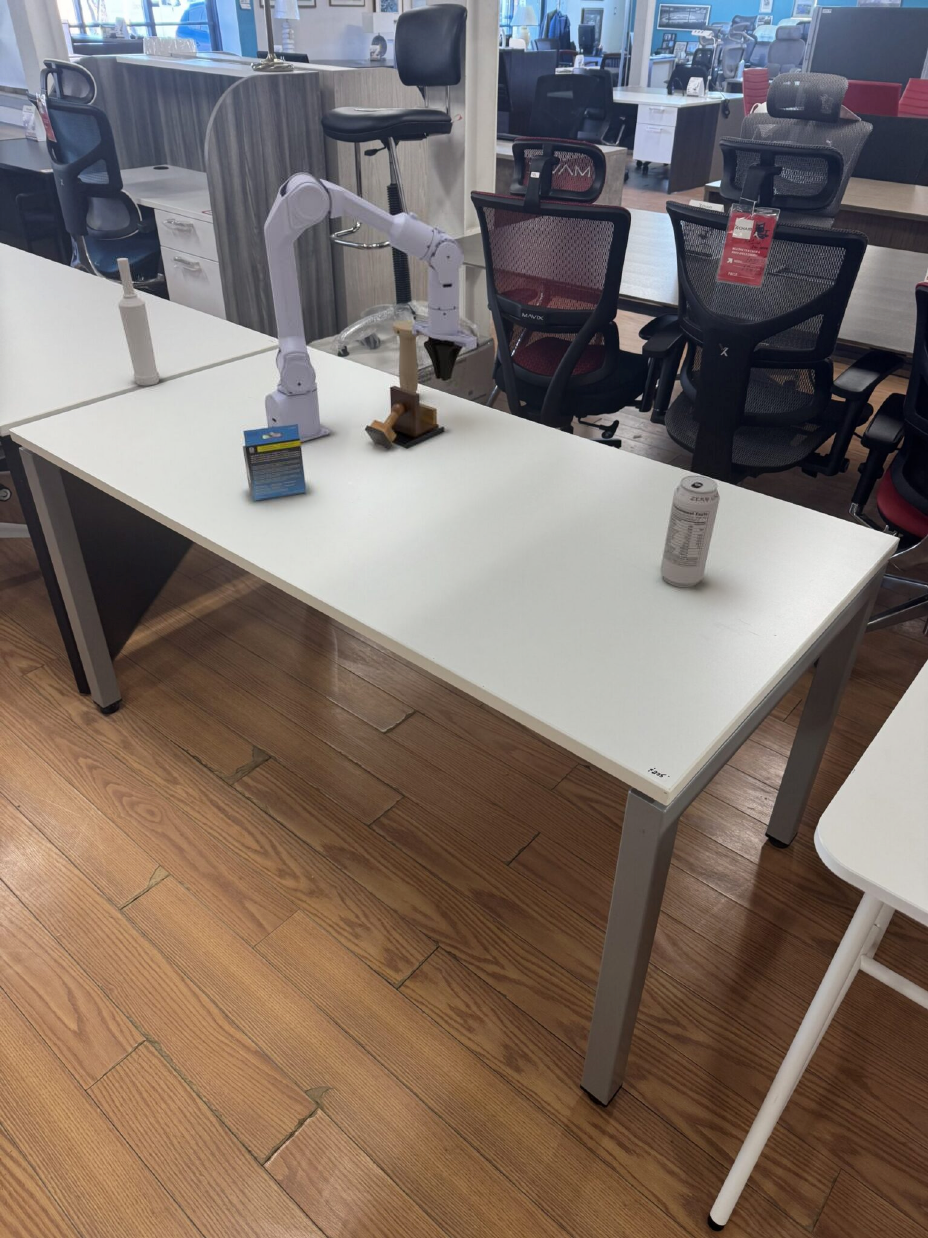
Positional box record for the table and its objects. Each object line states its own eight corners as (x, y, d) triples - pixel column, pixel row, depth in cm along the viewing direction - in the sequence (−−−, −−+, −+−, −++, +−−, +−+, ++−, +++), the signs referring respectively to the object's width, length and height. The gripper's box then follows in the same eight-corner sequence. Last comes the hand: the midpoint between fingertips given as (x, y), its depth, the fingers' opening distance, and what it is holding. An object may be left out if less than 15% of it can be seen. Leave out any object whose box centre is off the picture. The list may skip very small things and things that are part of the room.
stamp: (395, 434, 162) (394, 399, 158) (411, 440, 159) (410, 404, 155) (365, 447, 156) (363, 411, 152) (380, 453, 154) (379, 416, 150)
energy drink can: (709, 577, 122) (730, 482, 113) (688, 594, 118) (708, 498, 109) (673, 562, 125) (690, 469, 116) (651, 578, 121) (667, 483, 113)
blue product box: (301, 483, 144) (294, 414, 137) (306, 493, 141) (299, 423, 134) (249, 491, 141) (238, 421, 134) (253, 501, 138) (242, 430, 131)
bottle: (156, 386, 180) (130, 262, 166) (131, 385, 180) (104, 261, 166) (163, 377, 185) (139, 256, 170) (139, 377, 185) (114, 255, 170)
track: (414, 420, 167) (413, 415, 167) (444, 431, 163) (444, 426, 162) (376, 436, 161) (376, 431, 160) (407, 448, 156) (407, 443, 156)
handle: (410, 405, 174) (408, 331, 165) (390, 396, 177) (387, 324, 169) (428, 399, 176) (427, 326, 168) (407, 391, 180) (405, 319, 171)
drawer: (415, 418, 166) (414, 377, 161) (439, 427, 163) (439, 385, 158) (391, 428, 162) (389, 387, 157) (415, 437, 158) (415, 395, 154)
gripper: (488, 308, 154) (485, 381, 162) (428, 294, 161) (429, 364, 169) (462, 317, 149) (461, 391, 157) (403, 301, 157) (405, 373, 165)
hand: (443, 378), depth 163 cm, fingers closed
